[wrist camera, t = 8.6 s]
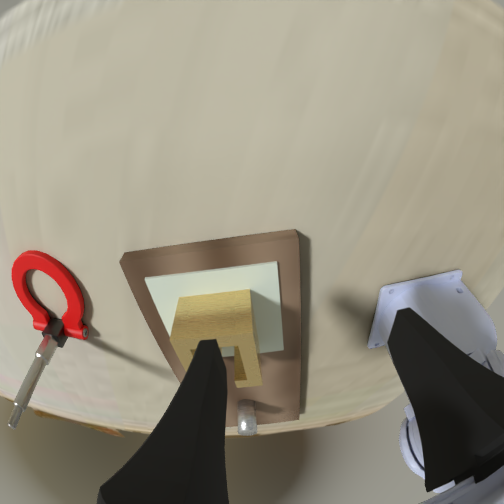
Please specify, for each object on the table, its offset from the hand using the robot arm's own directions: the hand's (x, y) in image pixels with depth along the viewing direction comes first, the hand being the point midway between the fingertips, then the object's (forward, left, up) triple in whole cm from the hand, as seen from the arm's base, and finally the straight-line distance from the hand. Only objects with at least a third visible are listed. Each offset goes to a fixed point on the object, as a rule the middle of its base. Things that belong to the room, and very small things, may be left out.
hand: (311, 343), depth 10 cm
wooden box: (+5, +6, -8) cm, 11 cm away
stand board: (+5, +14, -9) cm, 17 cm away
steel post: (+5, +20, -8) cm, 22 cm away
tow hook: (+21, +3, -10) cm, 23 cm away
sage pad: (+5, +6, -8) cm, 11 cm away
